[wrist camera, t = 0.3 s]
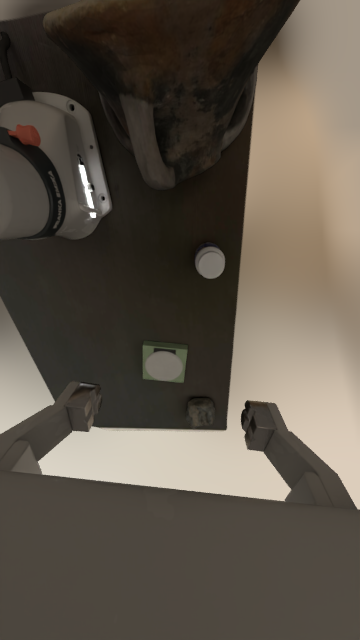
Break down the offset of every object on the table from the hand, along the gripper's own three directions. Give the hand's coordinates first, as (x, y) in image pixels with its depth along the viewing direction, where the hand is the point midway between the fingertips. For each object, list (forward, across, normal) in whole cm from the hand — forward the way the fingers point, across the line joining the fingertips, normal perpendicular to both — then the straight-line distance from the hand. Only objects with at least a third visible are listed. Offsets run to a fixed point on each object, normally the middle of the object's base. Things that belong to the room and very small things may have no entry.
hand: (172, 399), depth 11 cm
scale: (+38, +3, +28) cm, 47 cm away
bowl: (+33, +2, -17) cm, 37 cm away
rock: (+38, -9, +47) cm, 61 cm away
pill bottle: (+38, -4, -2) cm, 38 cm away
